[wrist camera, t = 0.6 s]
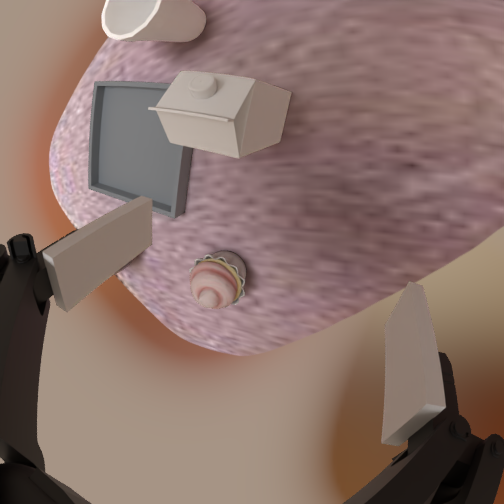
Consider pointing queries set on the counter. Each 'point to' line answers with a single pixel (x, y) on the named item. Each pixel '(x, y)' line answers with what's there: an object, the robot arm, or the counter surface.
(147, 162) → the tray
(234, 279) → the cupcake
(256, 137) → the milk carton
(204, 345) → the counter surface
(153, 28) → the foam cup
